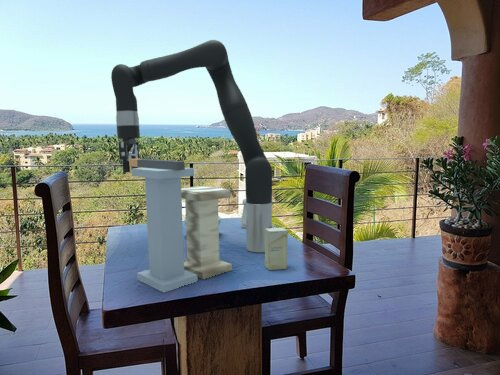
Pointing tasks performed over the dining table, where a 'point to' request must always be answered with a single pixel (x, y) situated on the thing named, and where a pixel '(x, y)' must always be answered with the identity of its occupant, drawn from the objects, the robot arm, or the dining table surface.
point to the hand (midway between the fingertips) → (130, 171)
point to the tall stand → (164, 229)
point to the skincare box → (276, 248)
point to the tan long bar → (157, 164)
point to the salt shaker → (244, 215)
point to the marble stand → (203, 230)
